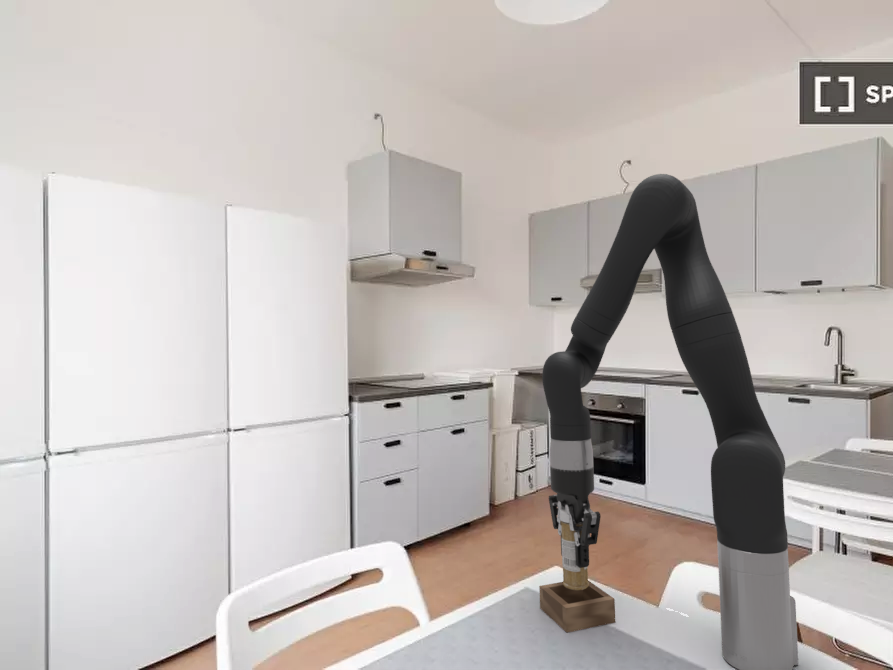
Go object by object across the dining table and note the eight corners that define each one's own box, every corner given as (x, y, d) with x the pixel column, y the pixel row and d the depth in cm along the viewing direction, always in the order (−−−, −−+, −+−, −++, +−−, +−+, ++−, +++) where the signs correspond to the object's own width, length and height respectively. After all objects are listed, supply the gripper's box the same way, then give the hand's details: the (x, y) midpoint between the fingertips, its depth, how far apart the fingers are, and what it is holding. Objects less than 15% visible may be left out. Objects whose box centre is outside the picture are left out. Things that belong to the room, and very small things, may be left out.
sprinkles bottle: (594, 586, 97) (591, 509, 98) (576, 593, 95) (573, 514, 95) (575, 578, 101) (572, 503, 102) (556, 584, 99) (554, 508, 99)
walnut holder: (585, 599, 104) (584, 577, 104) (615, 622, 95) (614, 598, 95) (540, 608, 101) (539, 585, 101) (566, 632, 92) (565, 608, 92)
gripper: (613, 469, 93) (617, 573, 93) (569, 455, 107) (572, 545, 106) (574, 474, 91) (577, 580, 90) (533, 458, 104) (536, 551, 104)
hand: (574, 561), depth 98 cm, fingers closed on sprinkles bottle, 4 cm apart
